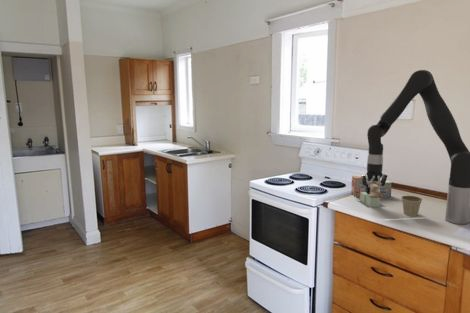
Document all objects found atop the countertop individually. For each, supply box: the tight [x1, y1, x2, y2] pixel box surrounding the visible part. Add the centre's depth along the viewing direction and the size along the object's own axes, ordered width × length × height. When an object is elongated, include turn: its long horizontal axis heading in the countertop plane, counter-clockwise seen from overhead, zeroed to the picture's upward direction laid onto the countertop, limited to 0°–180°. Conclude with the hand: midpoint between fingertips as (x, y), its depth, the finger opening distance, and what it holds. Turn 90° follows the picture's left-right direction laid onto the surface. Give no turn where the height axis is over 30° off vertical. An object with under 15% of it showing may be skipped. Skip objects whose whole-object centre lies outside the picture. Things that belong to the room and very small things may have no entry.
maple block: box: [366, 184, 380, 196], centre depth 179 cm, size 5×5×5 cm
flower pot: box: [400, 195, 423, 217], centre depth 167 cm, size 9×9×9 cm
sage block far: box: [359, 192, 368, 203], centre depth 187 cm, size 5×5×5 cm
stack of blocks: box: [351, 174, 393, 198], centre depth 200 cm, size 21×6×12 cm, turn 86°
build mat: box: [357, 200, 386, 209], centre depth 184 cm, size 10×12×1 cm
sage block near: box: [366, 195, 381, 208], centre depth 181 cm, size 5×5×5 cm
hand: (373, 193), depth 180 cm, fingers closed on maple block, 4 cm apart
